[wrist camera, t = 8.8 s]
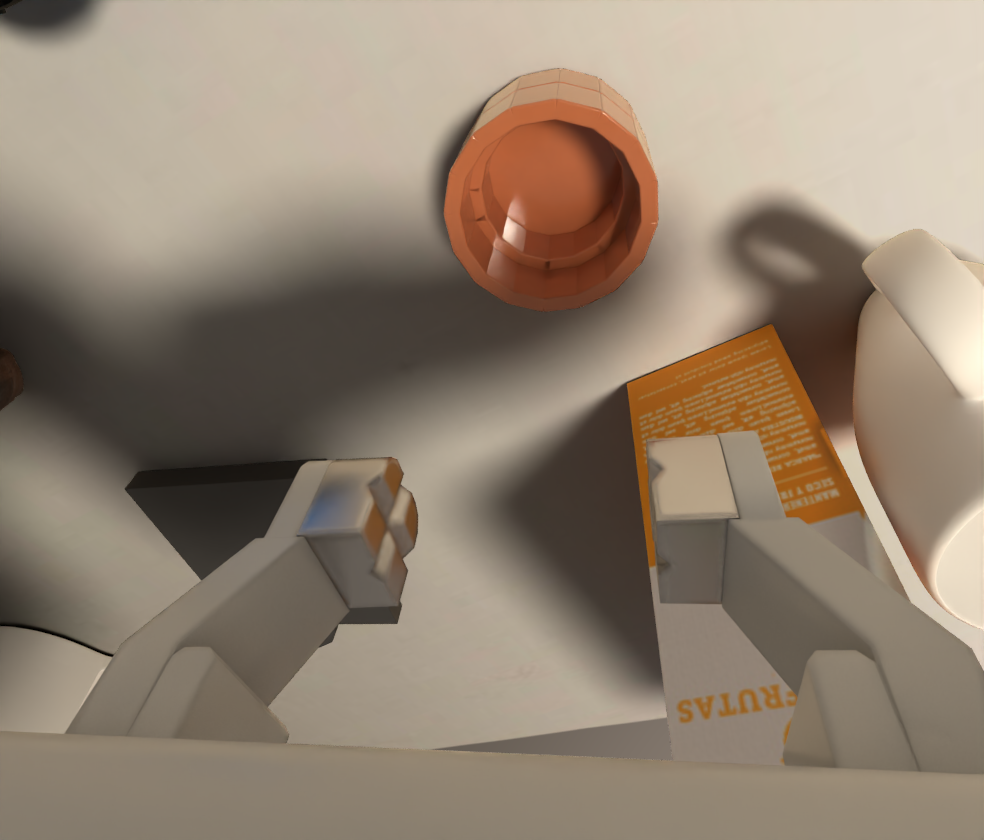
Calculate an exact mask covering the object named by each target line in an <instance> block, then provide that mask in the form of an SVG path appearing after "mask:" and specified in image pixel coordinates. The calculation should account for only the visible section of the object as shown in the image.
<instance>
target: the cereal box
mask: <svg viewBox="0 0 984 840" xmlns="http://www.w3.org/2000/svg"><path fill="white" fill-rule="evenodd" d="M627 389H628V397H629V406H630V414H631V422H632V430H633V439H634V447H635V455H636V463H637V472H638V480H639V488H640V496H641V505H642V513H643V521H644V529H645V537H646V546H647V554H648V562H649V570H650V579H651V587H652V595H653V603H654V612H655V620H656V628H657V636H658V645H659V653H660V661H661V669H662V678H663V686H664V694H665V702H666V711H667V719H668V726H669V735H670V743H671V752H672V759H673V761H693V762H715V763H737V764H760V765H782V766H785V763H784V759H783V755H782V754H783V751H784V747H785V743H786V739H787V735H788V732H789V728H790V724H791V720H792V717H793V713H794V709H795V705H796V701H797V698H798V697H797V696H796V695H795V694H794V692H793V691H792V690H791V689H790V688H789V686H788V685H787V684H786V683H785V682H784V680H783V679H782V678H781V677H780V676H779V675H778V673H777V672H776V671H775V670H774V669H773V667H772V666H771V665H770V664H769V663H768V661H767V660H766V659H765V658H764V657H763V656H762V654H761V653H760V652H759V651H758V650H757V648H756V647H755V646H754V645H753V644H752V642H751V641H750V640H749V639H748V638H747V636H746V635H745V634H744V633H743V632H742V631H741V629H740V628H739V627H738V626H737V625H736V623H735V622H734V621H733V620H732V619H731V617H730V616H729V615H728V614H727V613H726V612H725V610H724V609H723V608H722V604H667V603H660V597H659V589H658V581H657V573H656V564H655V547H654V541H653V537H652V527H651V518H650V505H649V490H648V479H649V476H648V466H647V454H646V439H657V438H670V437H684V436H697V435H710V434H715V435H717V433H729V432H741V431H753V430H754V431H755V432H756V433H757V434H758V436H759V439H760V442H761V444H762V447H763V450H764V453H765V456H766V459H767V462H768V465H769V468H770V471H771V474H772V477H773V480H774V483H775V486H776V488H777V491H778V494H779V497H780V500H781V503H782V506H783V509H784V512H785V515H786V518H787V517H799V518H800V519H801V520H803V521H804V522H805V523H807V524H808V525H809V526H811V527H812V528H813V529H815V530H816V531H817V532H819V533H820V534H821V535H822V536H824V537H825V538H826V539H828V540H829V541H830V542H832V543H833V544H834V545H836V546H837V547H838V548H840V549H841V550H842V551H844V552H845V553H846V554H848V555H849V556H850V557H851V558H853V559H854V560H855V561H857V562H858V563H859V564H861V565H862V566H863V567H865V568H866V569H867V570H869V571H870V572H871V573H873V574H874V575H875V576H877V577H878V578H879V579H880V580H882V581H883V582H884V583H886V584H887V585H888V586H890V587H891V588H892V589H894V590H895V591H896V592H898V593H899V594H900V595H902V596H903V597H904V598H906V599H907V600H908V601H910V600H909V598H908V596H907V594H906V592H905V590H904V588H903V586H902V584H901V582H900V580H899V578H898V576H897V574H896V572H895V569H894V567H893V565H892V563H891V561H890V559H889V557H888V555H887V553H886V551H885V549H884V547H883V545H882V543H881V541H880V539H879V537H878V535H877V533H876V531H875V529H874V527H873V525H872V523H871V521H870V519H869V517H868V515H867V513H866V511H865V509H864V507H863V505H862V503H861V501H860V499H859V497H858V495H857V493H856V491H855V489H854V487H853V485H852V483H851V481H850V479H849V477H848V475H847V473H846V471H845V469H844V467H843V465H842V463H841V461H840V459H839V457H838V455H837V453H836V451H835V449H834V447H833V445H832V443H831V441H830V439H829V437H828V435H827V433H826V431H825V429H824V427H823V425H822V423H821V421H820V419H819V417H818V415H817V413H816V411H815V409H814V407H813V405H812V403H811V401H810V399H809V397H808V395H807V393H806V391H805V389H804V387H803V385H802V383H801V381H800V379H799V377H798V375H797V373H796V371H795V369H794V367H793V365H792V363H791V361H790V359H789V357H788V355H787V353H786V351H785V349H784V347H783V345H782V343H781V341H780V339H779V337H778V335H777V333H776V331H775V329H774V327H773V325H772V324H770V325H767V326H765V327H762V328H760V329H758V330H755V331H753V332H750V333H748V334H745V335H743V336H741V337H738V338H736V339H733V340H731V341H729V342H726V343H724V344H721V345H719V346H717V347H714V348H712V349H709V350H707V351H704V352H702V353H700V354H697V355H695V356H692V357H690V358H688V359H685V360H683V361H680V362H678V363H675V364H673V365H671V366H668V367H666V368H663V369H661V370H659V371H656V372H654V373H651V374H649V375H647V376H644V377H642V378H639V379H637V380H634V381H632V382H630V383H627Z"/></svg>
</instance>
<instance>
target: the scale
mask: <svg viewBox="0 0 984 840" xmlns="http://www.w3.org/2000/svg"><path fill="white" fill-rule="evenodd" d="M308 461H327V459H317V460H303V461H288V462H274V463H259V464H245V465H230V466H216V467H201V468H187V469H172V470H158V471H143V472H138V473H137V474H136V475H135V477H134V478H133V479H132V480H131V482H130V483H129V484H128V485H127V487H126V488H125V490H126V491H127V493H128V494H129V495H130V496H131V497H132V499H133V500H134V501H135V502H136V503H137V504H138V506H139V507H140V508H141V509H142V510H143V512H144V513H145V514H146V515H147V516H148V518H149V519H150V520H151V521H152V522H153V523H154V525H155V526H156V527H157V528H158V529H159V531H160V532H161V533H162V534H163V535H164V537H165V538H166V539H167V540H168V541H169V542H170V544H171V545H172V546H173V547H174V548H175V550H176V551H177V552H178V553H179V554H180V555H181V557H182V558H183V559H184V560H185V561H186V563H187V564H188V565H189V566H190V567H191V569H192V570H193V571H194V572H195V573H196V574H197V576H198V577H199V578H200V579H201V580H203V579H204V578H206V577H207V576H208V575H209V574H211V573H212V572H213V571H214V570H216V569H217V568H218V567H220V566H221V565H222V564H223V563H225V562H226V561H227V560H229V559H230V558H231V557H232V556H234V555H235V554H236V553H237V552H239V551H240V550H241V549H243V548H244V547H245V546H246V545H248V544H249V543H250V542H251V541H253V540H254V539H255V538H264V537H265V535H266V533H267V531H268V529H269V527H270V525H271V523H272V521H273V519H274V517H275V515H276V514H277V512H278V510H279V508H280V506H281V504H282V502H283V500H284V498H285V496H286V494H287V492H288V490H289V488H290V486H291V484H292V483H293V481H294V479H295V477H296V475H297V473H298V471H299V469H300V467H301V466H302V465H304V464H305V463H307V462H308ZM401 607H402V605H401V603H400V602H399V606H389V607H363V608H348V609H349V612H348V613H347V615H346V616H345V617H344V618H343V619H342V620H341V622H340V623H339V624H397V623H398V619H399V615H400V611H401ZM337 627H338V625H337V626H336V627H335V629H334V630H333V631H332V632H331V633H330V634H329V636H328V637H327V638H326V639H325V640H324V641H323V643H322V644H321V645H320V646H319V647H322V646H324V645H326V644H329V643H331V642H332V641H333V639H334V636H335V633H336V630H337Z"/></svg>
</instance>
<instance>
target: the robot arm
mask: <svg viewBox="0 0 984 840" xmlns="http://www.w3.org/2000/svg"><path fill="white" fill-rule="evenodd" d="M646 454H647V466H648V476H649V479H648V490H649V505H650V518H651V527H652V537H653V541H654V547H655V564H656V573H657V581H658V589H659V597H660V603H667V604H722V608H723V609H724V610H725V612H726V613H727V614H728V615H729V616H730V617H731V619H732V620H733V621H734V622H735V623H736V625H737V626H738V627H739V628H740V629H741V631H742V632H743V633H744V634H745V635H746V636H747V638H748V639H749V640H750V641H751V642H752V644H753V645H754V646H755V647H756V648H757V650H758V651H759V652H760V653H761V654H762V656H763V657H764V658H765V659H766V660H767V661H768V663H769V664H770V665H771V666H772V667H773V669H774V670H775V671H776V672H777V673H778V675H779V676H780V677H781V678H782V679H783V680H784V682H785V683H786V684H787V685H788V686H789V688H790V689H791V690H792V691H793V692H794V694H795V695H796V696H797V697H798V698H797V701H796V705H795V709H794V713H793V717H792V720H791V724H790V728H789V732H788V735H787V739H786V743H785V747H784V751H783V754H782V755H783V759H784V763H785V766H782V765H760V764H737V763H715V762H693V761H670V760H647V759H624V758H603V757H580V756H558V755H533V754H513V753H490V752H489V753H488V752H467V751H445V750H422V749H399V748H377V747H354V746H331V745H308V744H286V743H287V740H288V737H289V733H288V731H287V728H286V726H285V725H284V724H283V723H282V722H281V721H280V720H279V719H278V718H277V717H276V716H275V715H274V713H273V712H272V711H271V710H270V709H269V708H268V706H269V705H270V703H271V702H272V701H273V700H274V699H275V698H276V696H277V695H278V694H279V693H280V692H281V691H282V689H283V688H284V687H285V686H286V685H287V684H288V682H289V681H290V680H291V679H292V678H293V677H294V675H295V674H296V673H297V672H298V671H299V669H300V668H301V667H302V666H303V665H304V664H305V662H306V661H307V660H308V659H309V658H310V657H311V655H312V654H313V653H314V652H315V651H316V650H317V648H318V647H319V646H320V645H321V644H322V643H323V641H324V640H325V639H326V638H327V637H328V636H329V634H330V633H331V632H332V631H333V630H334V629H335V627H336V626H337V625H338V624H339V623H340V622H341V620H342V619H343V618H344V617H345V616H346V615H347V613H348V612H349V609H348V608H363V607H389V606H399V602H400V599H401V595H402V591H403V587H404V584H405V580H406V576H407V573H408V569H407V567H406V565H405V563H404V561H403V558H404V557H405V556H406V555H407V554H408V553H409V552H410V551H411V550H412V549H414V546H415V542H416V538H417V534H418V512H417V507H416V502H415V500H414V497H413V495H412V493H411V492H410V491H409V490H407V489H406V488H404V487H403V486H402V485H401V481H402V478H403V475H404V473H403V471H402V469H401V467H400V464H399V462H398V460H397V459H395V458H392V457H380V458H357V459H336V460H327V461H308V462H307V463H305V464H304V465H302V466H301V467H300V469H299V471H298V473H297V475H296V477H295V479H294V481H293V483H292V484H291V486H290V488H289V490H288V492H287V494H286V496H285V498H284V500H283V502H282V504H281V506H280V508H279V510H278V512H277V514H276V515H275V517H274V519H273V521H272V523H271V525H270V527H269V529H268V531H267V533H266V535H265V537H264V538H255V539H254V540H253V541H251V542H250V543H249V544H248V545H246V546H245V547H244V548H243V549H241V550H240V551H239V552H237V553H236V554H235V555H234V556H232V557H231V558H230V559H229V560H227V561H226V562H225V563H223V564H222V565H221V566H220V567H218V568H217V569H216V570H214V571H213V572H212V573H211V574H209V575H208V576H207V577H206V578H204V579H203V580H202V581H200V582H199V583H198V584H197V585H195V586H194V587H193V588H192V589H190V590H189V591H188V592H186V593H185V594H184V595H183V596H181V597H180V598H179V599H178V600H176V601H175V602H174V603H172V604H171V605H170V606H169V607H167V608H166V609H165V610H163V611H162V612H161V613H160V614H158V615H157V616H156V617H155V618H153V619H152V620H151V621H149V622H148V623H147V624H146V625H144V626H143V627H142V628H141V629H139V630H138V631H137V632H135V633H134V634H133V635H132V636H130V637H129V638H128V639H127V640H125V641H124V642H123V643H121V645H120V646H119V648H118V650H117V651H116V653H115V654H114V656H113V657H109V656H106V655H103V654H101V653H98V652H96V651H93V650H91V649H89V648H86V647H84V646H82V645H79V644H77V643H74V642H72V641H69V640H66V639H63V638H60V637H57V636H54V635H51V634H47V633H43V632H39V631H35V630H30V629H24V628H18V627H8V626H0V840H984V671H983V669H982V667H981V665H980V663H979V661H978V660H977V658H976V656H975V654H974V652H973V650H972V649H971V648H970V647H969V646H968V645H966V644H965V643H964V642H962V641H961V640H960V639H958V638H957V637H956V636H954V635H953V634H952V633H950V632H949V631H948V630H946V629H945V628H944V627H942V626H941V625H940V624H939V623H937V622H936V621H935V620H933V619H932V618H931V617H929V616H928V615H927V614H925V613H924V612H923V611H921V610H920V609H919V608H917V607H916V606H915V605H913V604H912V603H911V602H910V601H908V600H907V599H906V598H904V597H903V596H902V595H900V594H899V593H898V592H896V591H895V590H894V589H892V588H891V587H890V586H888V585H887V584H886V583H884V582H883V581H882V580H880V579H879V578H878V577H877V576H875V575H874V574H873V573H871V572H870V571H869V570H867V569H866V568H865V567H863V566H862V565H861V564H859V563H858V562H857V561H855V560H854V559H853V558H851V557H850V556H849V555H848V554H846V553H845V552H844V551H842V550H841V549H840V548H838V547H837V546H836V545H834V544H833V543H832V542H830V541H829V540H828V539H826V538H825V537H824V536H822V535H821V534H820V533H819V532H817V531H816V530H815V529H813V528H812V527H811V526H809V525H808V524H807V523H805V522H804V521H803V520H801V519H800V518H799V517H787V518H786V515H785V512H784V509H783V506H782V503H781V500H780V497H779V494H778V491H777V488H776V486H775V483H774V480H773V477H772V474H771V471H770V468H769V465H768V462H767V459H766V456H765V453H764V450H763V447H762V444H761V442H760V439H759V436H758V434H757V433H756V432H755V431H754V430H753V431H741V432H729V433H717V435H715V434H710V435H697V436H684V437H670V438H657V439H646Z"/></svg>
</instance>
